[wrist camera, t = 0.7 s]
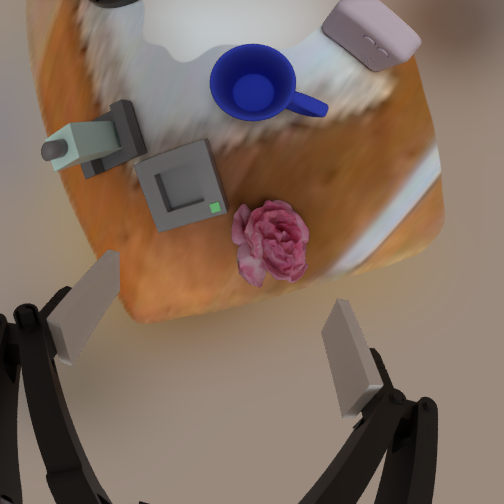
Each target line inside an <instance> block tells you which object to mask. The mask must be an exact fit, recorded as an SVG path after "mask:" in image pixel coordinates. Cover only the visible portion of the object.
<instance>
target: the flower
mask: <svg viewBox="0 0 504 504" xmlns="http://www.w3.org/2000/svg"><path fill="white" fill-rule="evenodd" d="M232 240H233V242H234V243H235V244H237V245H238V246H239V249H238V251H237V263H238V269H239V274H240V275H241V276H242V277H243V278H244V279H245V280H246V281H247V282H248V283H249V284H252V285H254V286H257V287H261V286H262V282H263V281H264V278H265V275H266V270H267V271H268V272H269V273H270V274H272V275H273V277H274V278H275V279H278V280H286V279H287V281H289V282H290V283H293V282H296V281H297V280H298V279H300V278H301V277H302V276H303V275H304V273H305V271H306V270H307V268H308V265H307V264H306V260H305V254H306V245H305V244H306V243H307V242H308V240H309V230H308V228H307V227H306V225H305V223H304V222H303V221H302V219H301V217H300V216H299V215H298V213H296V212H295V211H294V210H293V209H292V207H291V206H290V204H288V203H286V202H284V201H282V200H274V201H273V202H272V201H269V200H267V201H265V203H264V205H263V207H260V208H256V209H255V210H254V211H253V212H251V211H250V209H249V208H248V207H247V205H246V204H242V205H241V206H240V207H239V209H238V210H237V212H236V213H235V215H234V217H233V223H232Z"/></svg>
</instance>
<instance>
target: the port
mask: <svg viewBox="0 0 504 504" xmlns="http://www.w3.org/2000/svg"><path fill="white" fill-rule="evenodd" d="M134 168H135V171H136V173H137V176H138V179H139V182H140V185H141V188H142V190H143V193H144V196H145V198H146V201H147V204H148V206H149V209H150V212H151V214H152V217H153V219H154V222H155V225H156V227H157V230H158V232H159V233H160V232H163V231H167V230H170V229H173V228H176V227H180V226H183V225H187V224H190V223H193V222H197V221H200V220H204V219H207V218H211V217H214V216H218V215H222V214H225V213H227V212H228V209H229V206H228V203H227V199H226V196H225V193H224V190H223V187H222V184H221V180H220V177H219V174H218V171H217V168H216V165H215V161H214V158H213V155H212V152H211V149H210V145H209V142H208V139H207V138H206V139H202V140H199V141H196V142H193V143H190V144H187V145H184V146H182V147H179V148H176V149H173V150H171V151H168V152H165V153H163V154H160V155H157V156H155V157H152V158H150V159H147V160H145V161H142V162H140V163H138V164H135V165H134Z"/></svg>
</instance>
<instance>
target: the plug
mask: <svg viewBox="0 0 504 504" xmlns="http://www.w3.org/2000/svg"><path fill="white" fill-rule="evenodd" d="M120 149H122V145H121V142H120V139H119V136H118V133H117V129H116V126H115V123H114V121H94V122H77V123H69V124H67V125H66V126H64V127H63V128H61V129H60V130H58V131H57V132H55V133H54V134H53V135H51V136H50V137H48V138H47V139H46V140H45V143H44V144H43V146H42V149H41V155H42V158H43V159H44V160H45V161H50V160H51V162H52V165H53V169H54V172H56V171H59V170H62V169H65V168H68V167H72V166H75V165H78V164H81V163H84V162H88V161H91V160H95V159H98V158H102V157H105V156H107V155H109V154H111V153H113V152H115V151H117V150H120Z"/></svg>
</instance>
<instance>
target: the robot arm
mask: <svg viewBox="0 0 504 504" xmlns="http://www.w3.org/2000/svg"><path fill="white" fill-rule="evenodd" d="M89 1H91V2H92V3H94V4H95V5H97V6H100V7H104V8H115V7H121V6H124V5H128V4H130V3H133V2H135V1H137V0H89ZM119 255H120V252H117V251H113V250H109V249H108V250H107V251H106V252H105V253H104V254H103V255H102V257H101V258H100V259H99V260H98V261H97V262H96V263H95V264H94V265H93V266H92V267H91V268H90V269H89V270H88V271H87V272H86V273H85V275H84V276H83V277H82V278H81V279H80V280H79V281H78V282H77V283H76V284H75V286H74V287H73V288H71V287H68V286H66V287H64V288H62V289H60V290H59V291H58V292H57V293H56V294H55V295H54V297H52V298H51V300H50V301H49V302H48V303H47V304H46V305H45V306H44V307H43V308H42V310H41V311H40V312H38V309H37V307H36V306H35V305H33V304H29V303H28V304H22V305H20V306H18V307H17V308H16V309H15V311H14V314H13V316H14V319H15V321H16V324H13V323H8V322H7V319H6V317H5V316H4V315H3V314H0V504H22V489H21V482H20V472H19V463H18V448H17V407H18V391H19V379H20V371H21V367H22V375H23V381H24V388H25V393H26V398H27V403H28V407H29V413H30V417H31V421H32V425H33V429H34V432H35V435H36V439H37V443H38V446H39V449H40V452H41V455H42V458H43V461H44V464H45V466H46V470H47V475H46V479H47V483H48V486H49V488H50V490H51V493H52V495H53V497H54V500H55V502H56V504H112V502H111V501H110V499H109V498H108V496H107V494H106V492H105V491H104V490H103V488H102V487H101V485H100V483H99V481H98V480H97V477H96V476H95V474H94V472H93V469H92V467H91V465H90V463H89V461H88V459H87V457H86V455H85V452H84V450H83V448H82V445H81V443H80V441H79V438H78V435H77V433H76V430H75V427H74V425H73V422H72V419H71V416H70V413H69V411H68V408H67V404H66V401H65V398H64V395H63V391H62V388H61V385H60V381H59V377H58V373H57V369H56V365H55V361H54V357H55V355H56V354H58V357H59V360H60V361H62V362H64V363H66V364H68V365H71V366H73V364H74V362H75V361H76V359H77V357H78V356H79V354H80V352H81V351H82V349H83V347H84V346H85V344H86V342H87V341H88V339H89V337H90V336H91V334H92V333H93V331H94V329H95V328H96V326H97V325H98V323H99V321H100V320H101V318H102V317H103V315H104V314H105V312H106V311H107V309H108V308H109V306H110V305H111V303H112V301H113V300H114V299H115V297H116V296H117V294H118V293H119V291H120V267H119ZM321 334H322V337H323V341H324V345H325V349H326V353H327V357H328V360H329V364H330V368H331V372H332V376H333V381H334V385H335V389H336V393H337V397H338V402H339V406H340V410H341V415H342V418H353V417H356V416H357V415H358V414H359V413H360V412H362V416H363V417H362V419H360V420H359V421H358V423H357V424H356V425H355V426H354V427H353V428H355V429H354V430H353V432H352V433H351V435H350V436H349V438H348V439H347V441H346V442H345V444H344V445H343V447H342V448H341V450H340V451H339V453H338V454H337V455H336V457H335V458H334V460H333V461H332V463H331V464H330V465H329V466H328V468H327V469H326V471H325V472H324V473H323V474H322V476H321V477H320V478H319V479H318V481H317V482H316V483H315V485H314V486H313V487H312V488H311V489H310V491H309V492H308V493H307V494H306V495H305V496H304V498H303V499H302V500H301V501H300V502H299V503H298V504H356V503H357V501H358V499H359V498H360V497H361V495H362V493H363V492H364V490H365V488H366V487H367V485H368V483H369V481H370V480H371V478H372V476H373V474H374V473H375V471H376V469H377V467H378V465H379V464H380V462H381V460H382V458H383V455H384V454H385V452H386V450H387V453H386V458H385V463H384V468H383V472H382V476H381V481H380V484H379V488H378V492H377V495H376V499H375V502H374V504H432V498H433V491H434V483H435V474H436V461H437V443H438V408H437V405H436V403H435V402H434V401H433V400H432V399H431V398H429V397H422V398H421V399H420V400H419V401H418V402H414V401H410V400H406V397H405V395H404V394H403V393H402V392H401V391H400V390H398V389H395V388H394V387H393V385H392V382H391V380H390V377H389V375H388V373H387V370H386V369H385V365H384V364H383V361H382V358H381V356H380V355H379V353H378V352H377V351H376V350H375V349H374V348H369V347H368V345H367V342H366V340H365V337H364V335H363V333H362V330H361V328H360V326H359V323H358V321H357V319H356V317H355V314H354V312H353V310H352V308H351V305H350V303H349V301H348V300H343V299H337V300H336V302H335V305H334V307H333V309H332V311H331V313H330V315H329V317H328V319H327V321H326V323H325V325H324V327H323V329H322V331H321ZM139 504H148V503H144V502H141V501H140V502H139Z"/></svg>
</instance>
